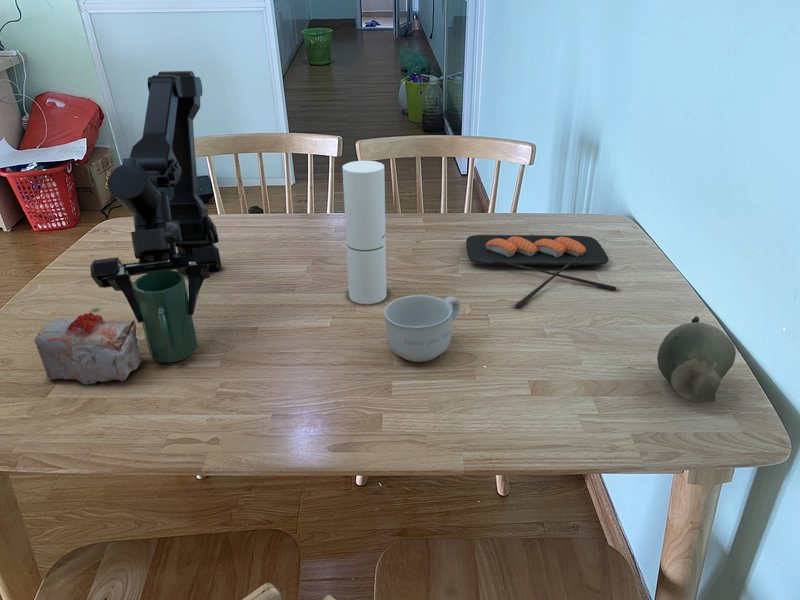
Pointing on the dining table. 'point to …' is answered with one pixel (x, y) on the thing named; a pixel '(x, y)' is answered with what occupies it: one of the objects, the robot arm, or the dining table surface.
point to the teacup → (420, 326)
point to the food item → (88, 349)
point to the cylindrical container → (365, 230)
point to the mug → (166, 315)
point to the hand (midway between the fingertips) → (165, 318)
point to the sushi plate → (537, 253)
